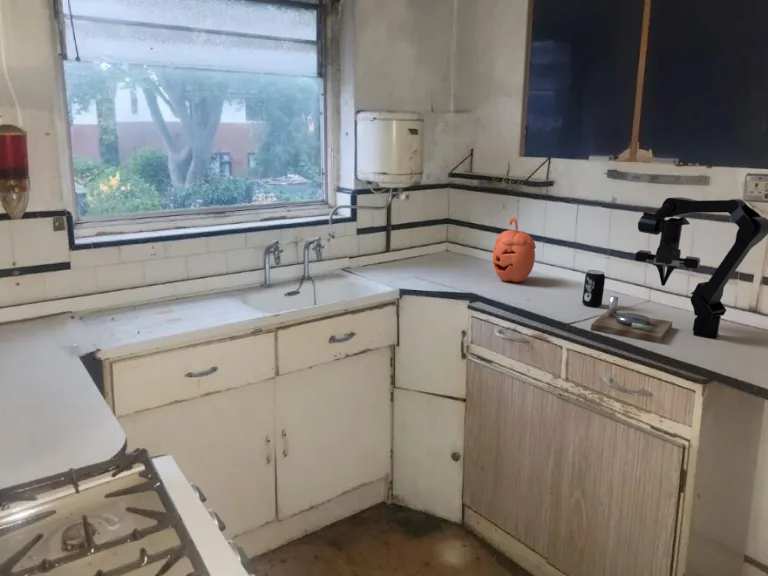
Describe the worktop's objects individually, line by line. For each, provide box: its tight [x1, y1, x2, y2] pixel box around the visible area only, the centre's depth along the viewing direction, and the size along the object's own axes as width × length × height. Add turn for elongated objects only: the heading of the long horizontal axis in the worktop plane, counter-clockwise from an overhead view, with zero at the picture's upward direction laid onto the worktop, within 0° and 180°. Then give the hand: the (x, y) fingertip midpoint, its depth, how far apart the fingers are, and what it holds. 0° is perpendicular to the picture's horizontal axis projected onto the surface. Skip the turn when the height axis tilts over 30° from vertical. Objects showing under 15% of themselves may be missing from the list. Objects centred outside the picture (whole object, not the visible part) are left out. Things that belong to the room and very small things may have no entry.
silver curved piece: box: [608, 295, 651, 326], centre depth 210 cm, size 14×10×6 cm
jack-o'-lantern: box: [491, 216, 537, 283], centre depth 266 cm, size 18×17×25 cm
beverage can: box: [582, 269, 606, 308], centre depth 235 cm, size 7×7×12 cm
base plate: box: [590, 309, 673, 344], centre depth 210 cm, size 20×20×4 cm
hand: (663, 285), depth 217 cm, fingers closed
